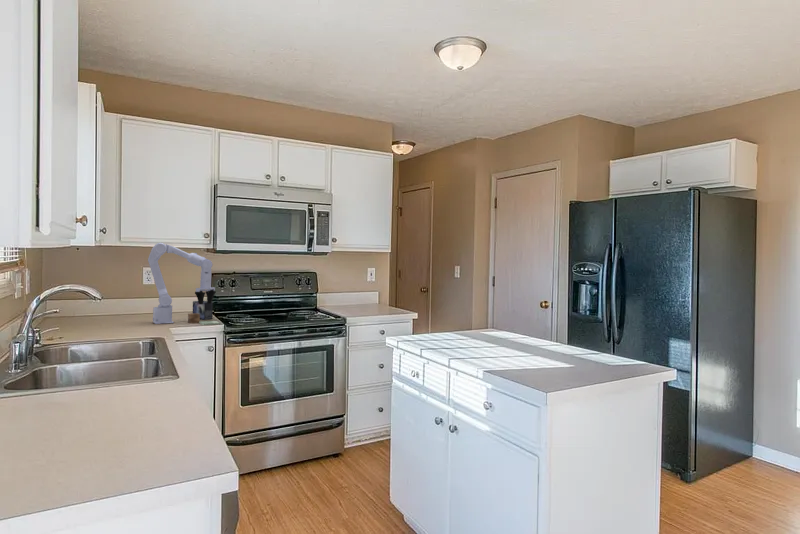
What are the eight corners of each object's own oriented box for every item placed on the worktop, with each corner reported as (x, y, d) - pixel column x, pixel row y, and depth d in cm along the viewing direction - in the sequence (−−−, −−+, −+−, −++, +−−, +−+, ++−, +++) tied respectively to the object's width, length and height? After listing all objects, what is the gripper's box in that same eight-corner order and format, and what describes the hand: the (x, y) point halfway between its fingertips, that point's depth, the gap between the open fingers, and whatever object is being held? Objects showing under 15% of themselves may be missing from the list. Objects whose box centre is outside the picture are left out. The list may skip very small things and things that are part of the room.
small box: (191, 318, 289) (191, 301, 289) (200, 317, 295) (201, 300, 295) (203, 320, 284) (204, 302, 284) (212, 319, 290) (213, 301, 290)
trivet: (202, 325, 264) (202, 323, 264) (198, 323, 271) (198, 321, 271) (219, 324, 269) (219, 322, 269) (215, 322, 276) (215, 320, 276)
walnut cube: (189, 323, 269) (190, 314, 269) (187, 322, 273) (188, 313, 273) (199, 323, 272) (199, 314, 272) (197, 322, 276) (197, 313, 276)
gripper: (203, 280, 270) (203, 305, 270) (219, 280, 284) (219, 303, 284) (192, 280, 272) (192, 304, 272) (209, 279, 286) (208, 302, 286)
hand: (205, 303), depth 278 cm, fingers open, 7 cm apart
